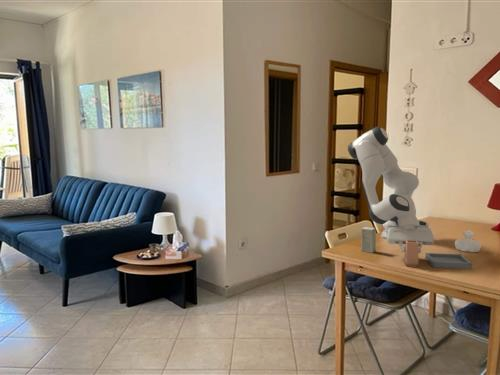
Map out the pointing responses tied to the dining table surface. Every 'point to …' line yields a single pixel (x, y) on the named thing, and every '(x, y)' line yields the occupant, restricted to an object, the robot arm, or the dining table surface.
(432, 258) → the tray
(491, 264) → the dining table surface
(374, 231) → the skincare box
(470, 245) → the bust
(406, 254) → the cup
